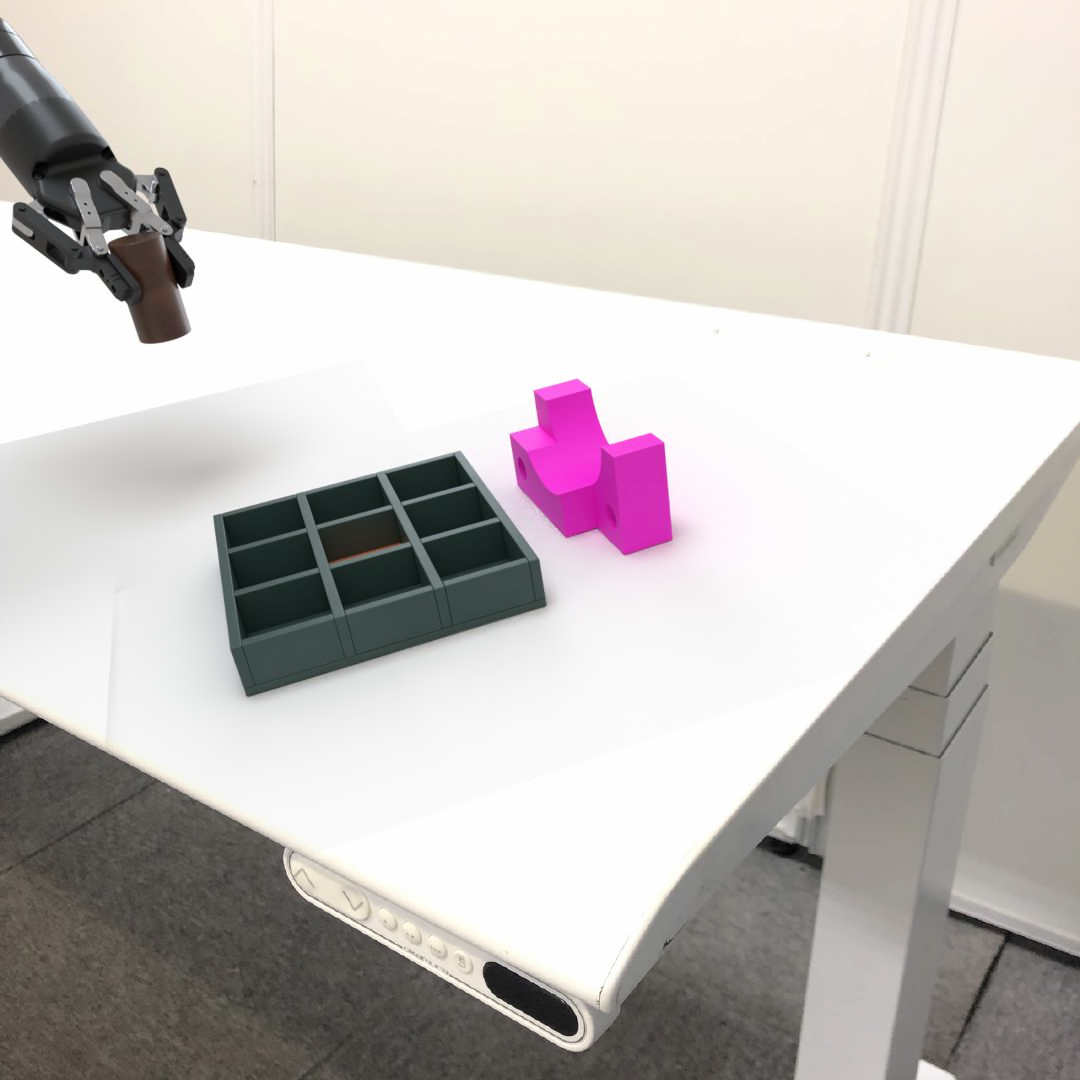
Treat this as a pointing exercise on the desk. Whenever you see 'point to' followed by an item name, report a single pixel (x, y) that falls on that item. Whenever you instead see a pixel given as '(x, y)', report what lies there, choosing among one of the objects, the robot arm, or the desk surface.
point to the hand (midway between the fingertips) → (163, 288)
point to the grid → (368, 570)
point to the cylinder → (153, 287)
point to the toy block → (592, 472)
